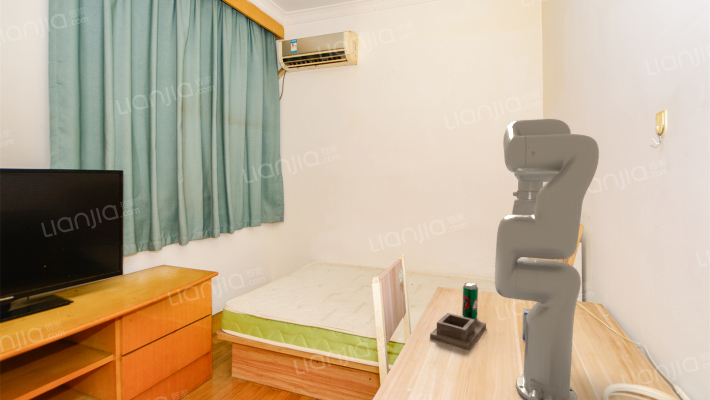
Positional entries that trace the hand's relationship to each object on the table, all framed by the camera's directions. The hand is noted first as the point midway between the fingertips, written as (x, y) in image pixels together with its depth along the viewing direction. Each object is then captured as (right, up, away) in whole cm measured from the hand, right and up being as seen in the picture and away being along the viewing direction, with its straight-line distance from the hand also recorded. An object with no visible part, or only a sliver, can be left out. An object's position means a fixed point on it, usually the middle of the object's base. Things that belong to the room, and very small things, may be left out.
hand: (527, 245), depth 117 cm
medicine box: (-3, -28, -11) cm, 30 cm away
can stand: (-26, -27, -6) cm, 38 cm away
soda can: (-18, -27, +6) cm, 33 cm away
